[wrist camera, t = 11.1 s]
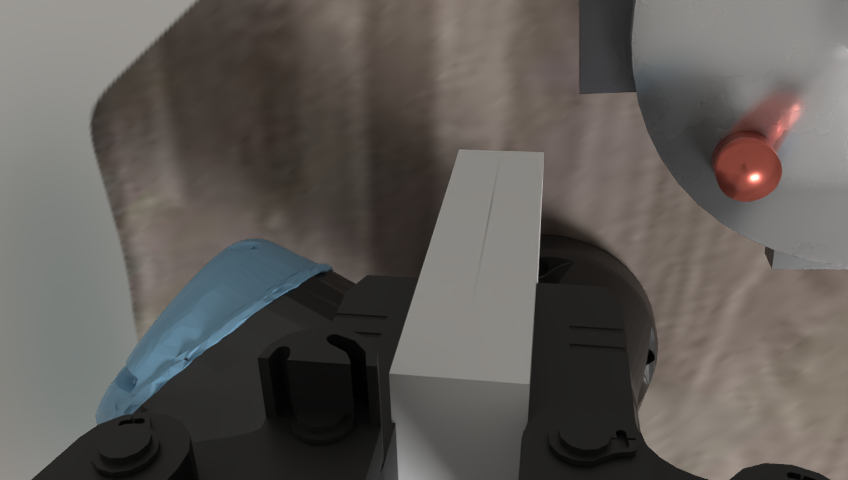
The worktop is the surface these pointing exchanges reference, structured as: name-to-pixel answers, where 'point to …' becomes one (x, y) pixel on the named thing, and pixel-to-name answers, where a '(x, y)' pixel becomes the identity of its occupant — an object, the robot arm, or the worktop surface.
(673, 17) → the pot lid
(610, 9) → the pressure cooker pot
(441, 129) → the worktop surface
